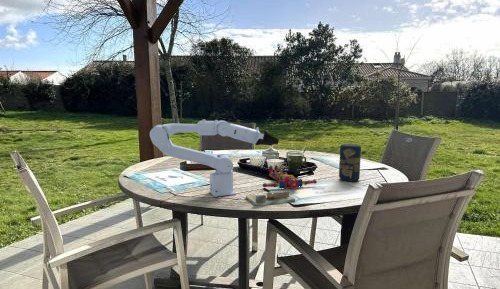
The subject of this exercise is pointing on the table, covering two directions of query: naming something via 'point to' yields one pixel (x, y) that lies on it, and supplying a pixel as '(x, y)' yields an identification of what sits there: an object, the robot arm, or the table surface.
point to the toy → (285, 179)
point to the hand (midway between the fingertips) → (275, 142)
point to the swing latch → (277, 194)
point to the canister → (349, 162)
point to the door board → (262, 199)
